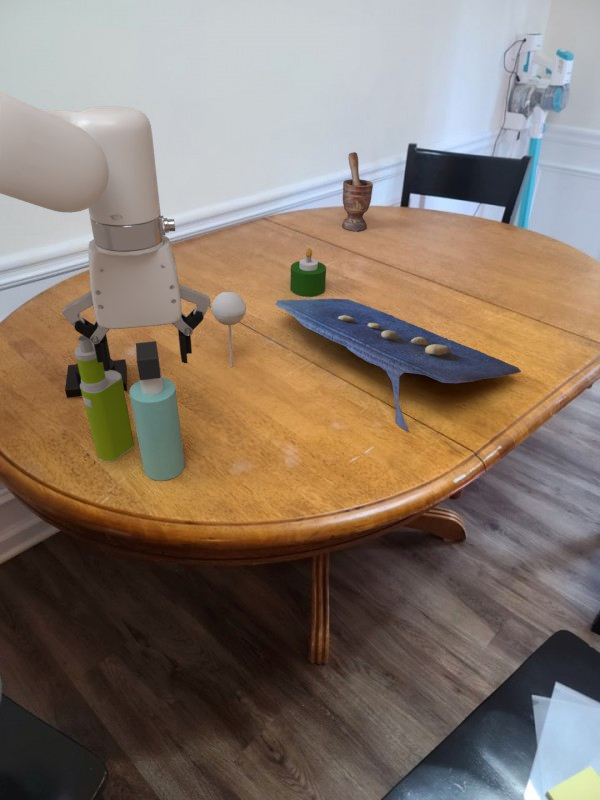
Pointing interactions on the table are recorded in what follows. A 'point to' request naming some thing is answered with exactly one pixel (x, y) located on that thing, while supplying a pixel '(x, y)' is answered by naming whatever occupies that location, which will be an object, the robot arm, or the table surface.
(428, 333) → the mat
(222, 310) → the lollipop
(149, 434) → the spray bottle
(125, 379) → the button box
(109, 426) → the vape
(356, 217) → the mortar and pestle
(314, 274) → the candle
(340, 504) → the table surface
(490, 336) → the table surface
